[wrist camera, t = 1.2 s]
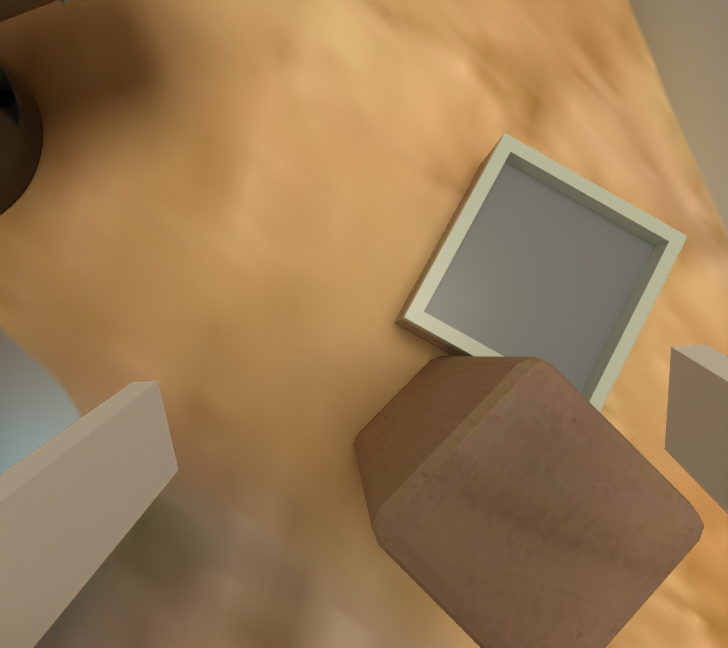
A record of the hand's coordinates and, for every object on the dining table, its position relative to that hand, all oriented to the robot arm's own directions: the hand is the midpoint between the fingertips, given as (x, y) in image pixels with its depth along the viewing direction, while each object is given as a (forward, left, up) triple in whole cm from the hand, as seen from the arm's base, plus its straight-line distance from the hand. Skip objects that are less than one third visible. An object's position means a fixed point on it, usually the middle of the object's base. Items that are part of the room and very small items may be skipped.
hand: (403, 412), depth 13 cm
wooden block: (+8, -1, -26) cm, 27 cm away
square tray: (+8, +13, -26) cm, 30 cm away
